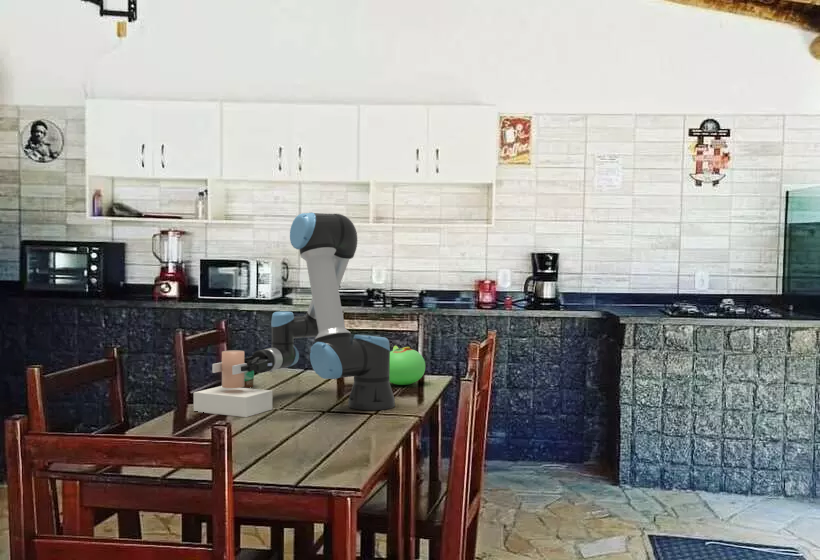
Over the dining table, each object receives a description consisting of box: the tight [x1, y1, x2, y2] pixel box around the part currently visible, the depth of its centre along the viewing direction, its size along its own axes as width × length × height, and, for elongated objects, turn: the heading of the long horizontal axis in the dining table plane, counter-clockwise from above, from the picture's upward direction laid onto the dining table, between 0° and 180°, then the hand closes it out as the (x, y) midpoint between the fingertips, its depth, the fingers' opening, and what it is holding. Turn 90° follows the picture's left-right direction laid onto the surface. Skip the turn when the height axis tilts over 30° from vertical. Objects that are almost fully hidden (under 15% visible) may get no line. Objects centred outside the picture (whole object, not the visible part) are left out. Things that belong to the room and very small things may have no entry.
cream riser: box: [193, 385, 273, 418], centre depth 262 cm, size 20×14×6 cm
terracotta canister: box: [221, 349, 245, 388], centre depth 262 cm, size 7×7×11 cm
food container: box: [241, 370, 255, 389], centre depth 305 cm, size 12×6×10 cm, turn 168°
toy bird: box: [390, 345, 426, 386], centre depth 314 cm, size 18×17×15 cm
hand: (223, 369), depth 257 cm, fingers closed on terracotta canister, 7 cm apart
